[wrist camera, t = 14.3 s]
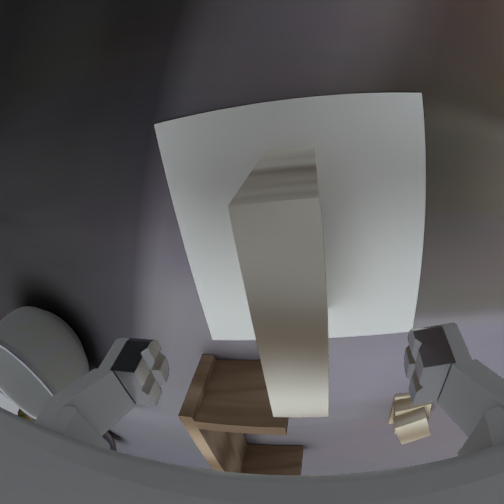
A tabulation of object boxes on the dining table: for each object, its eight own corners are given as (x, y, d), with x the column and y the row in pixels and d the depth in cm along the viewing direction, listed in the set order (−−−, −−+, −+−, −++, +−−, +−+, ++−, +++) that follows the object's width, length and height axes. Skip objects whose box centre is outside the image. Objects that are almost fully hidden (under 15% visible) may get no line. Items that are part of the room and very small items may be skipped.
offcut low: (393, 386, 24) (395, 397, 23) (431, 381, 24) (434, 392, 22) (387, 414, 26) (388, 423, 25) (421, 409, 25) (423, 419, 24)
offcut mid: (393, 401, 24) (395, 412, 22) (428, 393, 23) (431, 404, 22) (392, 423, 25) (394, 434, 24) (424, 416, 24) (426, 426, 23)
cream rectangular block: (264, 151, 16) (227, 206, 9) (314, 146, 15) (318, 197, 8) (288, 310, 20) (273, 416, 13) (328, 309, 20) (328, 416, 13)
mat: (157, 123, 16) (153, 124, 16) (419, 92, 13) (421, 92, 13) (214, 336, 23) (212, 339, 23) (410, 327, 20) (411, 331, 20)
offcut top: (392, 417, 23) (394, 428, 22) (424, 406, 22) (426, 417, 21) (400, 434, 24) (401, 444, 23) (428, 424, 23) (430, 435, 22)
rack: (202, 354, 24) (178, 415, 19) (292, 355, 23) (284, 423, 18) (240, 448, 32) (230, 494, 26) (303, 451, 30) (298, 499, 25)
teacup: (11, 313, 28) (-30, 359, 21) (39, 270, 24) (-19, 326, 17) (96, 397, 32) (67, 449, 25) (146, 379, 28) (112, 446, 21)
